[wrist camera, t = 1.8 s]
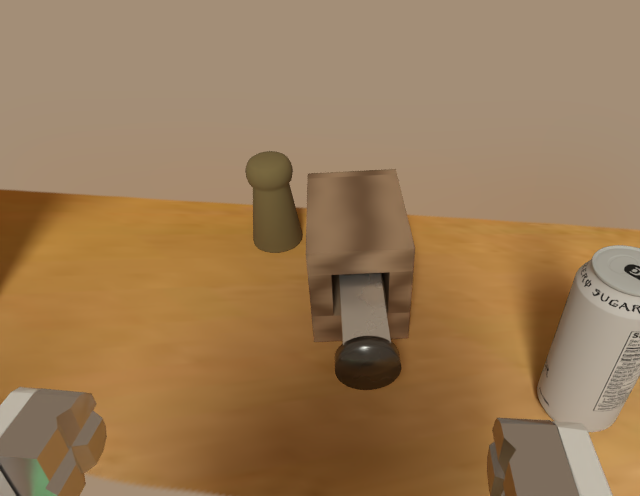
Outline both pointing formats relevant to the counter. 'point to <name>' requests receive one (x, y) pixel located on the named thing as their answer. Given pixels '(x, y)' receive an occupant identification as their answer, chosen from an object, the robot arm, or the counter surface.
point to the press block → (357, 245)
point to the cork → (273, 203)
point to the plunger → (365, 335)
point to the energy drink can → (596, 342)
